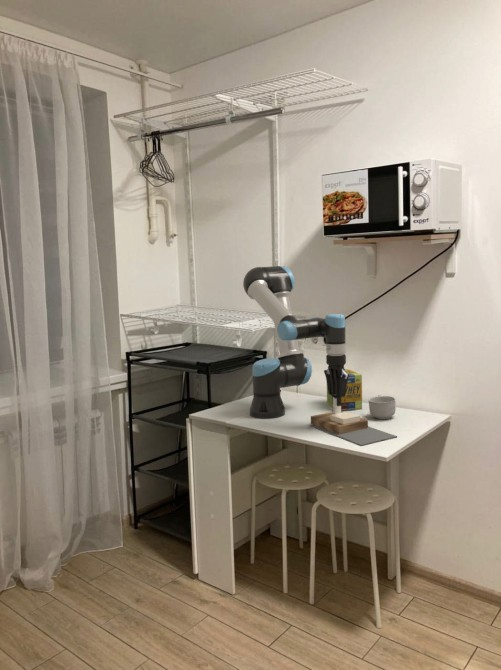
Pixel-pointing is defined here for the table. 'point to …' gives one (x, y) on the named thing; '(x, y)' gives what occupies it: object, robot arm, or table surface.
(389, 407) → the teacup
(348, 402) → the protein box
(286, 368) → the robot arm
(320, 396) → the table surface
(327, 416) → the stand
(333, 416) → the coaster
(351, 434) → the mat
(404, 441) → the table surface
